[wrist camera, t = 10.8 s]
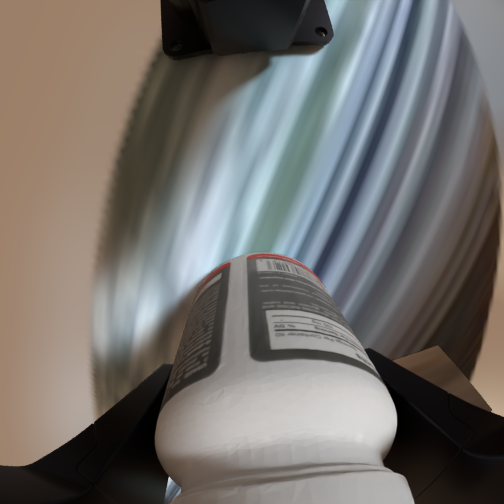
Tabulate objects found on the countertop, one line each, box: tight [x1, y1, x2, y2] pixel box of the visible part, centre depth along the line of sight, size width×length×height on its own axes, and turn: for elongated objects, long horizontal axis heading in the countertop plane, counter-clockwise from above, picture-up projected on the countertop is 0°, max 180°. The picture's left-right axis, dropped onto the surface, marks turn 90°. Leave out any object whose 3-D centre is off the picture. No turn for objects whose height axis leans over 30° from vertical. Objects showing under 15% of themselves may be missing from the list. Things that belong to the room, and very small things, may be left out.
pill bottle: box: [155, 252, 415, 504], centre depth 7 cm, size 6×6×10 cm
